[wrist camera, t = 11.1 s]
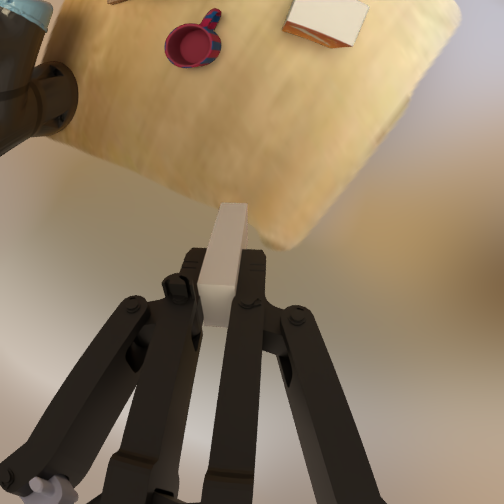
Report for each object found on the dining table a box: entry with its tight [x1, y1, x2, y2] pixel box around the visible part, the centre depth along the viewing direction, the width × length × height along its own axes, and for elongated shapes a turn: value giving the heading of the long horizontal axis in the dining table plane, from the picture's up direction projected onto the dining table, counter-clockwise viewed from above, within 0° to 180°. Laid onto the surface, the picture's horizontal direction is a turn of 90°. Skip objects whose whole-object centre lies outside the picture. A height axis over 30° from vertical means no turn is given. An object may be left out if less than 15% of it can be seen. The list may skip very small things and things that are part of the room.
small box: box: [282, 0, 370, 48], centre depth 27 cm, size 8×6×13 cm
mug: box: [165, 8, 221, 68], centre depth 32 cm, size 7×10×7 cm
